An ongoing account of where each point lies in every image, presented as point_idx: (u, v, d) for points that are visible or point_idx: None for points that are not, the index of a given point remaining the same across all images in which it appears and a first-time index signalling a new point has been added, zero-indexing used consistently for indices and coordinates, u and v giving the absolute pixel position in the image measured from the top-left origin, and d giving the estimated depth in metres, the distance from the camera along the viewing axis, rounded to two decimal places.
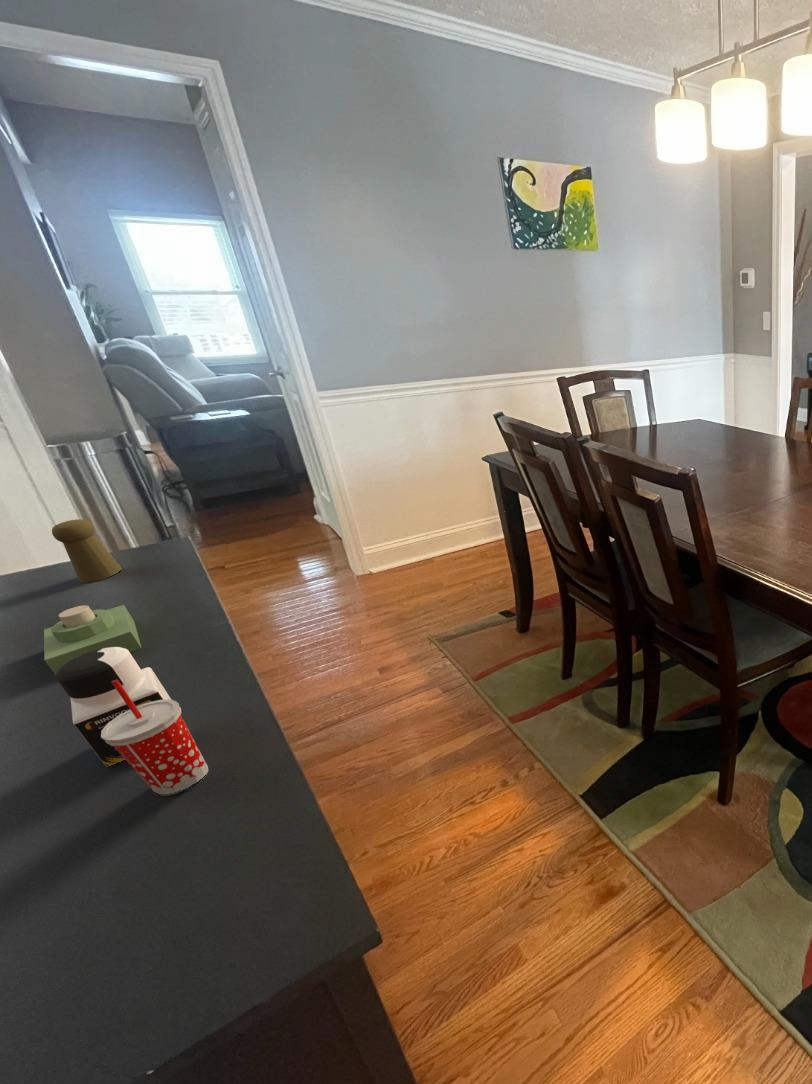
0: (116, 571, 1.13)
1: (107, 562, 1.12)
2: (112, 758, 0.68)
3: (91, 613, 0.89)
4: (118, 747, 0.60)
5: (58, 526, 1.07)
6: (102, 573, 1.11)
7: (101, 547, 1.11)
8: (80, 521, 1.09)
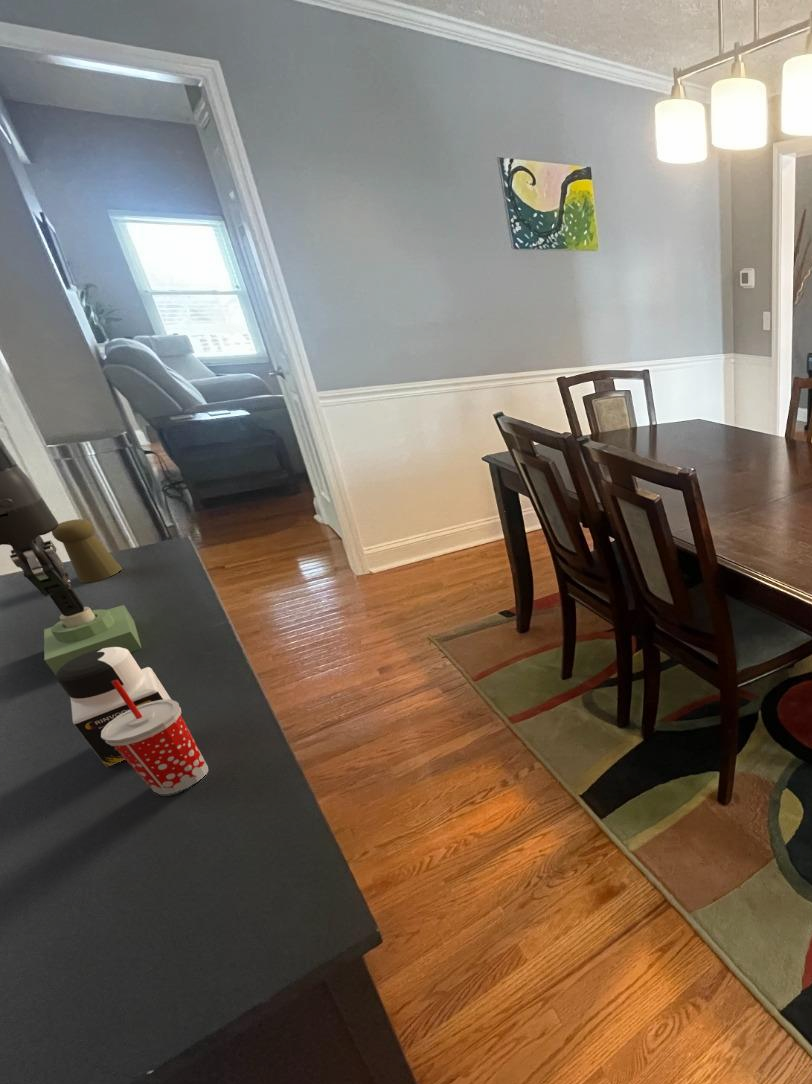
0: (116, 571, 1.13)
1: (107, 562, 1.12)
2: (112, 758, 0.68)
3: (92, 614, 0.89)
4: (118, 747, 0.60)
5: (58, 526, 1.07)
6: (102, 573, 1.11)
7: (101, 547, 1.11)
8: (80, 521, 1.09)
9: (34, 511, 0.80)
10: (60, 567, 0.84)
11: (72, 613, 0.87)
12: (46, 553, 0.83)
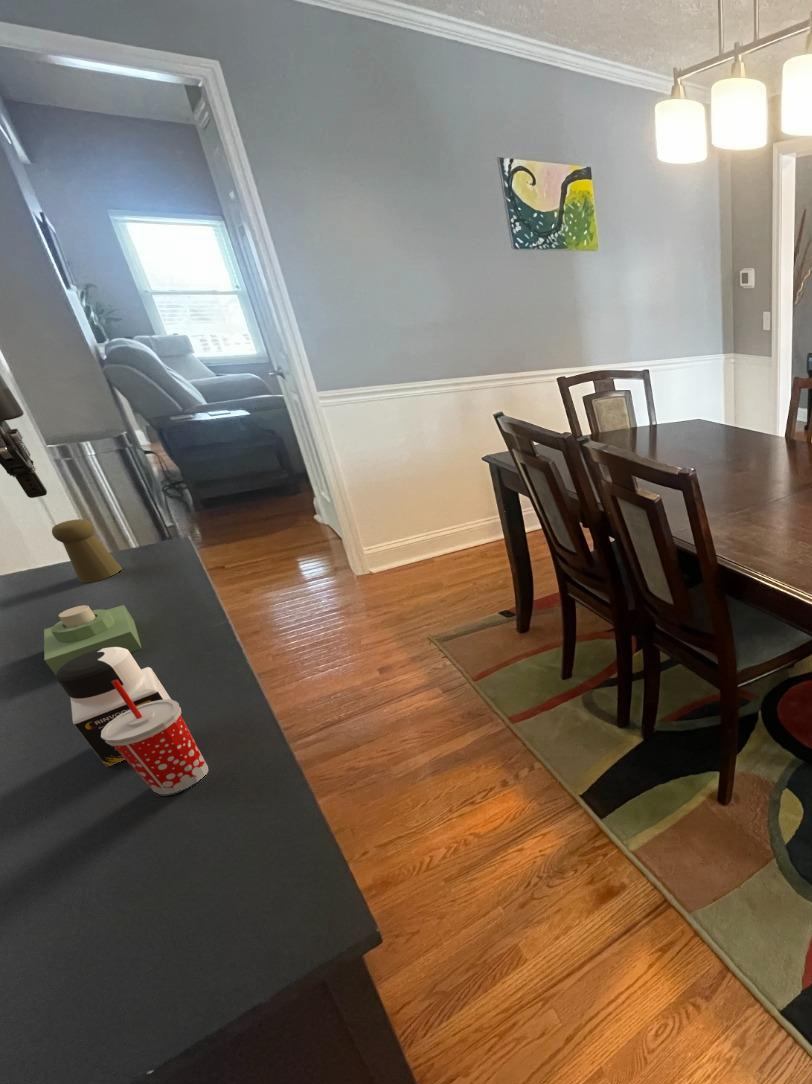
0: (116, 571, 1.13)
1: (107, 562, 1.12)
2: (112, 758, 0.68)
3: (91, 613, 0.89)
4: (118, 747, 0.60)
5: (58, 526, 1.07)
6: (102, 573, 1.11)
7: (101, 547, 1.11)
8: (80, 521, 1.09)
9: (0, 397, 0.91)
10: (24, 451, 0.95)
11: (36, 495, 0.98)
12: (12, 437, 0.94)
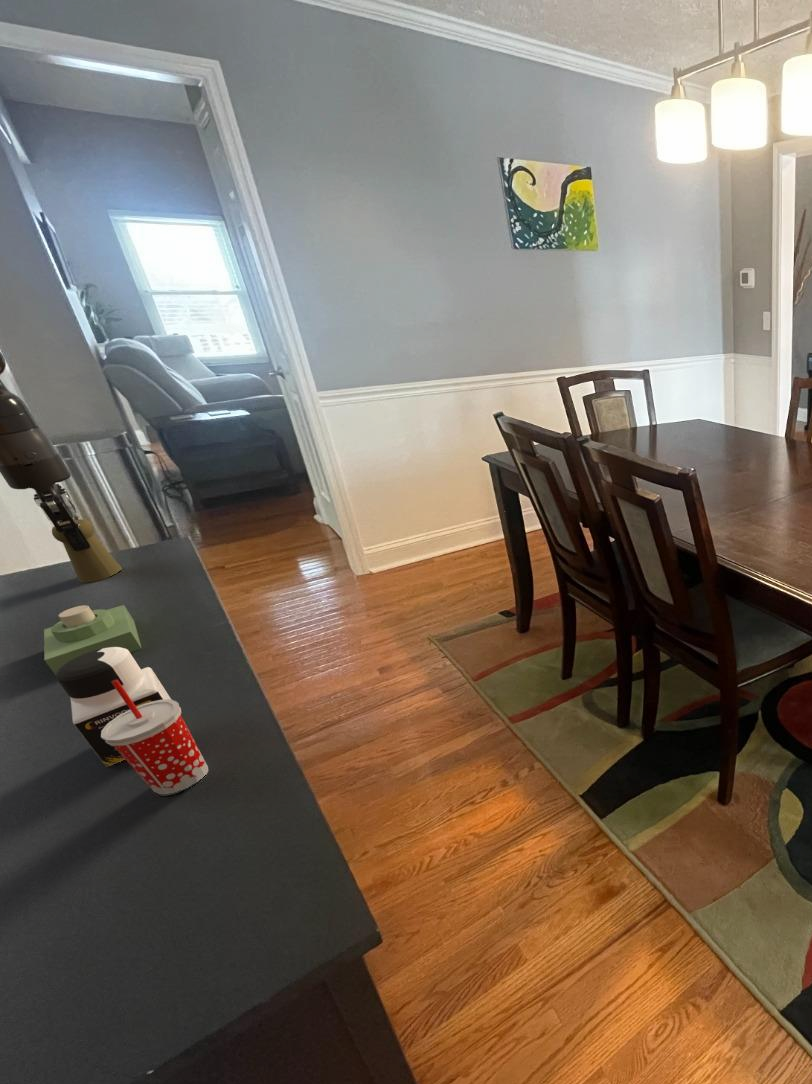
0: (116, 571, 1.13)
1: (107, 562, 1.12)
2: (112, 758, 0.68)
3: (91, 613, 0.89)
4: (118, 747, 0.60)
5: None
6: (102, 573, 1.11)
7: (101, 547, 1.11)
8: (80, 521, 1.09)
9: (52, 463, 1.03)
10: None
11: (81, 549, 1.08)
12: (61, 497, 1.05)
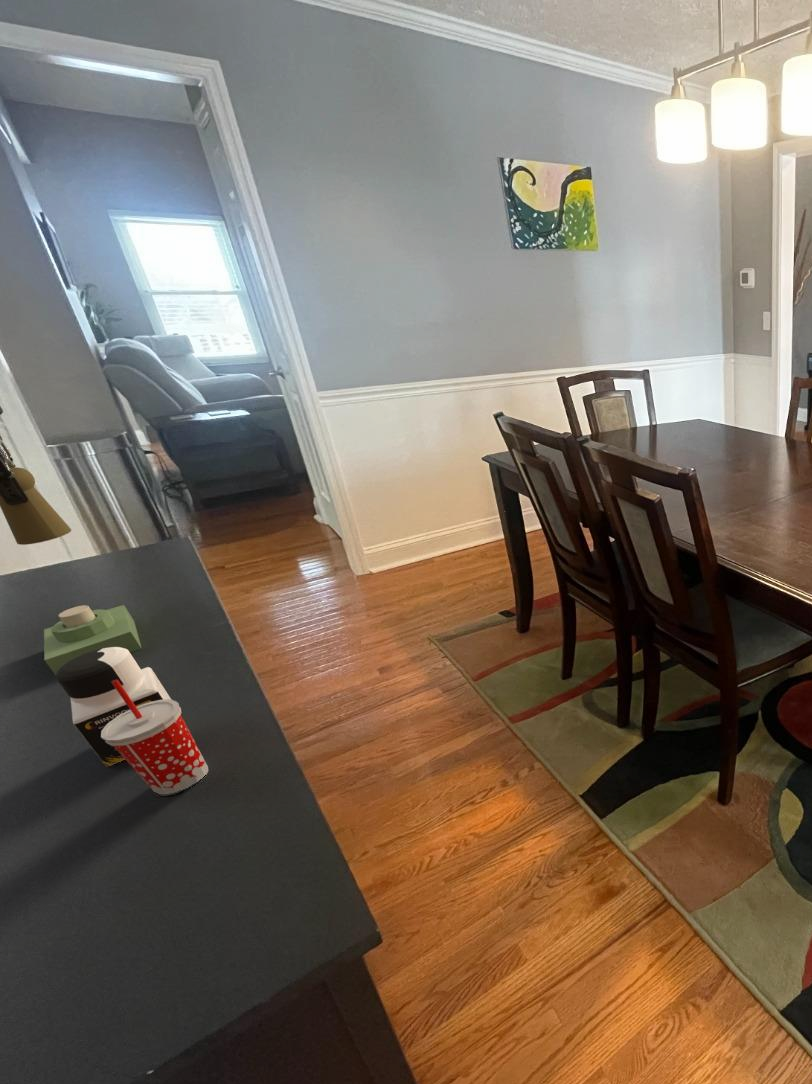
0: (63, 532, 0.94)
1: (51, 520, 0.93)
2: (112, 758, 0.68)
3: (91, 613, 0.89)
4: (118, 747, 0.60)
5: None
6: (44, 534, 0.92)
7: (44, 502, 0.92)
8: (16, 469, 0.89)
9: None
10: None
11: (16, 503, 0.89)
12: None
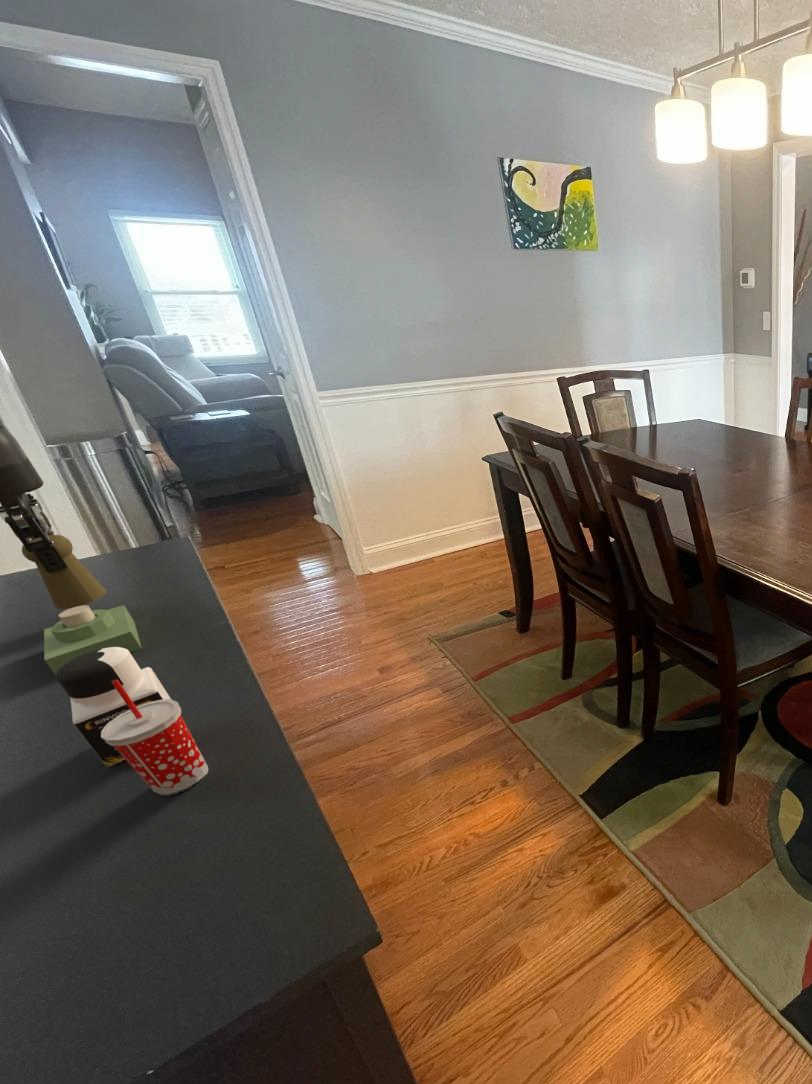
0: (99, 595, 0.97)
1: (87, 584, 0.96)
2: (112, 758, 0.68)
3: (91, 613, 0.89)
4: (118, 747, 0.60)
5: None
6: (82, 598, 0.95)
7: (81, 567, 0.95)
8: (55, 537, 0.93)
9: (20, 469, 0.87)
10: None
11: (55, 570, 0.92)
12: (32, 509, 0.89)
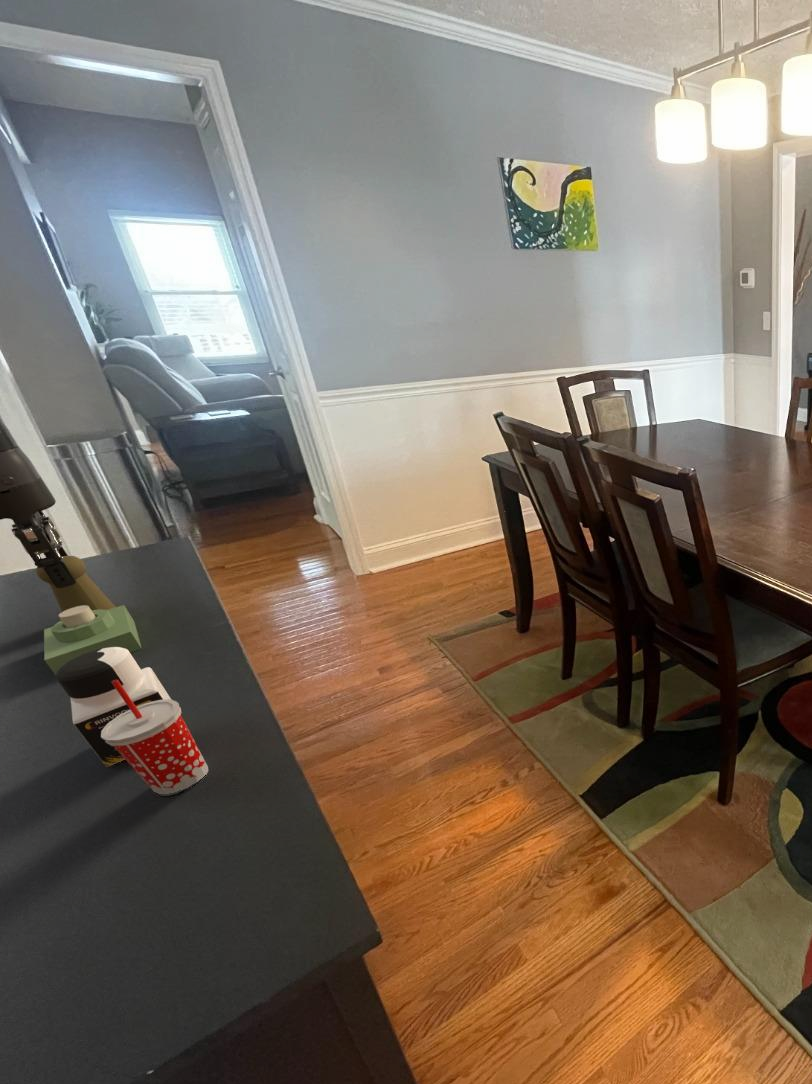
0: None
1: (100, 604, 0.97)
2: (112, 758, 0.68)
3: (91, 613, 0.89)
4: (118, 747, 0.60)
5: None
6: None
7: (94, 586, 0.97)
8: (69, 558, 0.94)
9: (34, 489, 0.88)
10: None
11: (64, 585, 0.92)
12: (44, 527, 0.91)
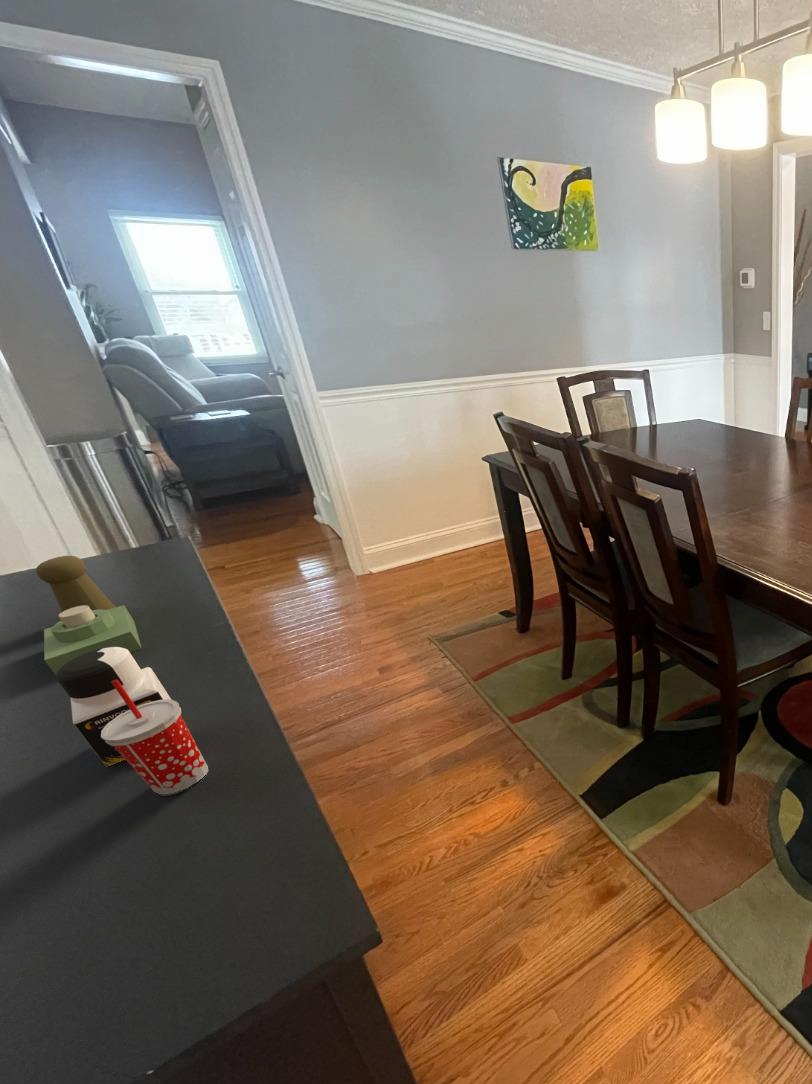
0: None
1: (100, 604, 0.97)
2: (112, 758, 0.68)
3: (91, 613, 0.89)
4: (118, 747, 0.60)
5: (44, 565, 0.92)
6: None
7: (94, 586, 0.97)
8: (69, 558, 0.94)
9: None
10: None
11: None
12: None
